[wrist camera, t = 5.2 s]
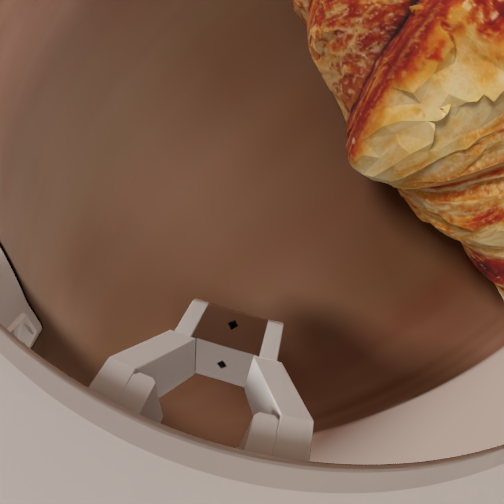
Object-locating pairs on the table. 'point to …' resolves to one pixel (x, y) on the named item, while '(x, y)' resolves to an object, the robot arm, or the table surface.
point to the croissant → (423, 107)
